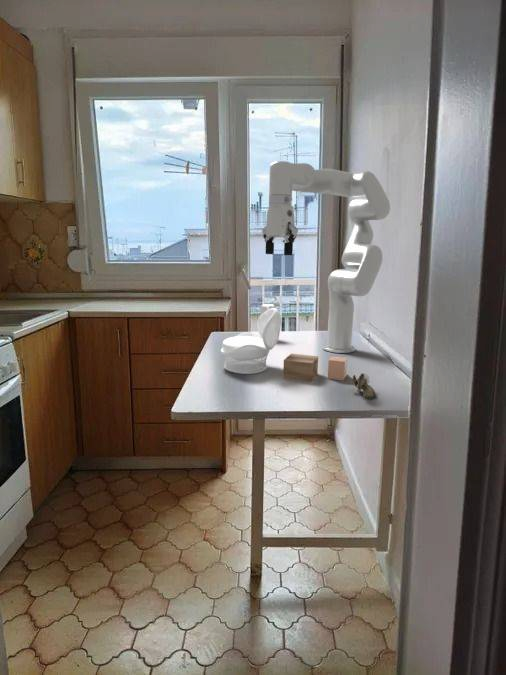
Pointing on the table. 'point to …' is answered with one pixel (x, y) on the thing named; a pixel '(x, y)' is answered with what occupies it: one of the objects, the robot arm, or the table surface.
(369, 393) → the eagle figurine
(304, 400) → the table surface
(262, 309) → the white rounded tall piece
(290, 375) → the walnut block
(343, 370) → the peach block
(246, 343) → the white toilet model
